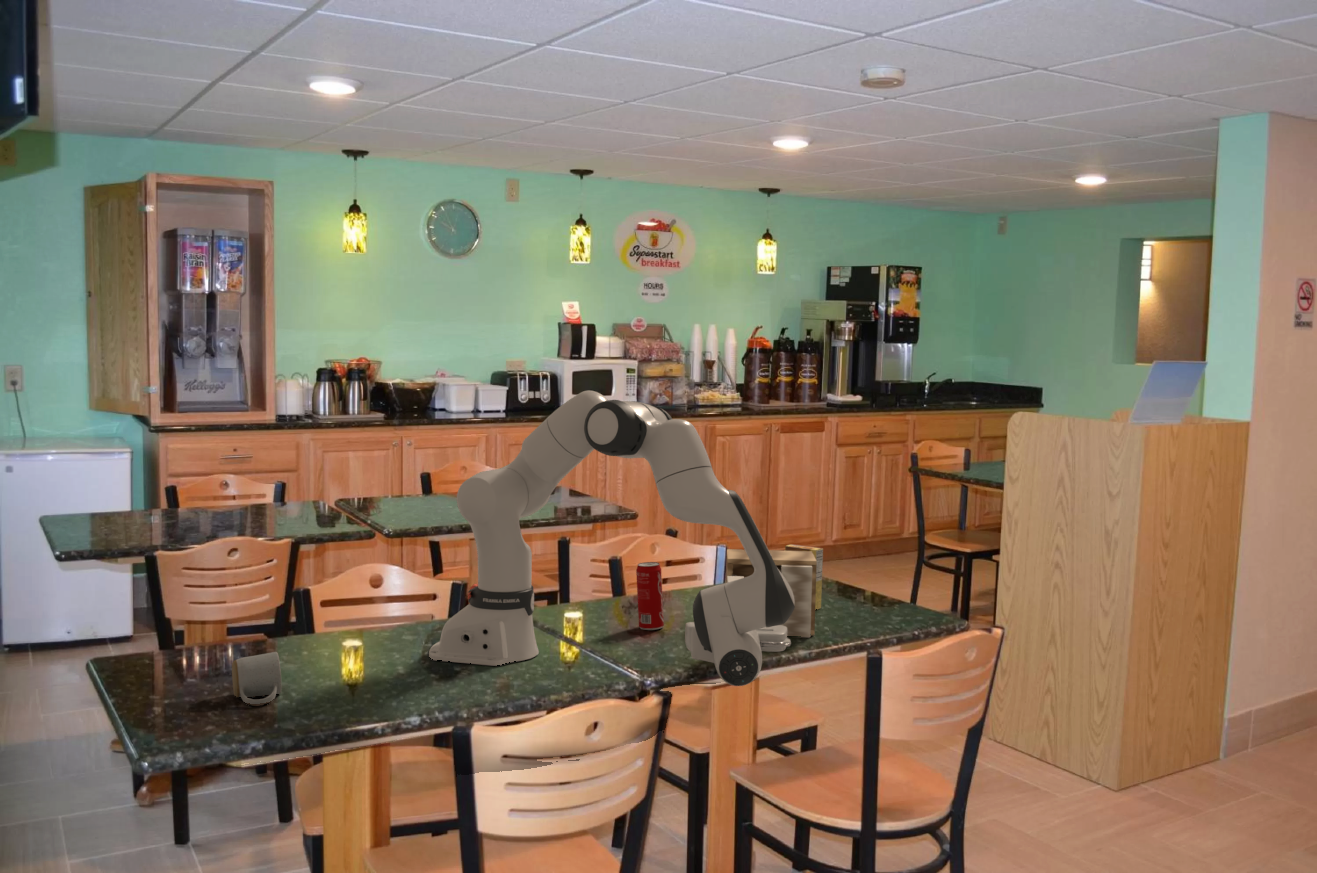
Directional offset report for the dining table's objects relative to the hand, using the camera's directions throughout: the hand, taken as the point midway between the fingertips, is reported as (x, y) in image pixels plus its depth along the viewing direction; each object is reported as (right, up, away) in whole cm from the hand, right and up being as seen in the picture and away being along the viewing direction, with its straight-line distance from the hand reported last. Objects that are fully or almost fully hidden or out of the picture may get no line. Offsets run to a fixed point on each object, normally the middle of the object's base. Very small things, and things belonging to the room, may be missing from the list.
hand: (735, 626), depth 226 cm
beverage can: (-18, -6, +31) cm, 36 cm away
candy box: (+20, -5, +54) cm, 58 cm away
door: (0, -8, +10) cm, 12 cm away
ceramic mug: (-88, -9, -24) cm, 92 cm away
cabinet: (+9, -6, +28) cm, 30 cm away
